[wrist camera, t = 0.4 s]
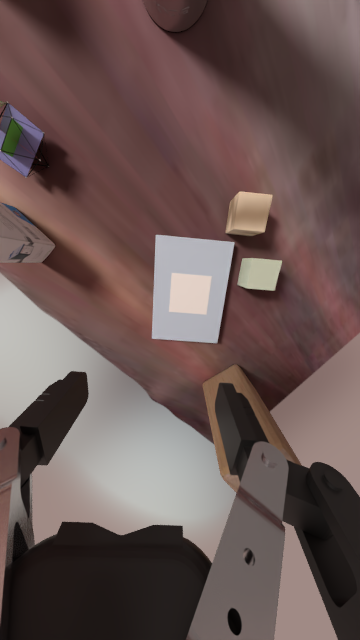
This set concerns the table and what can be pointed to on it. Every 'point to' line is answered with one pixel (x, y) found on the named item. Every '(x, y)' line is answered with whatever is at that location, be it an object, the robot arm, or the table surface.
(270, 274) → the sage cap block
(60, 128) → the table surface
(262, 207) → the maple block
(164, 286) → the board
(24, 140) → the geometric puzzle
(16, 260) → the ink box
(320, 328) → the table surface
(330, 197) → the table surface
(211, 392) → the wooden block
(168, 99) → the table surface
